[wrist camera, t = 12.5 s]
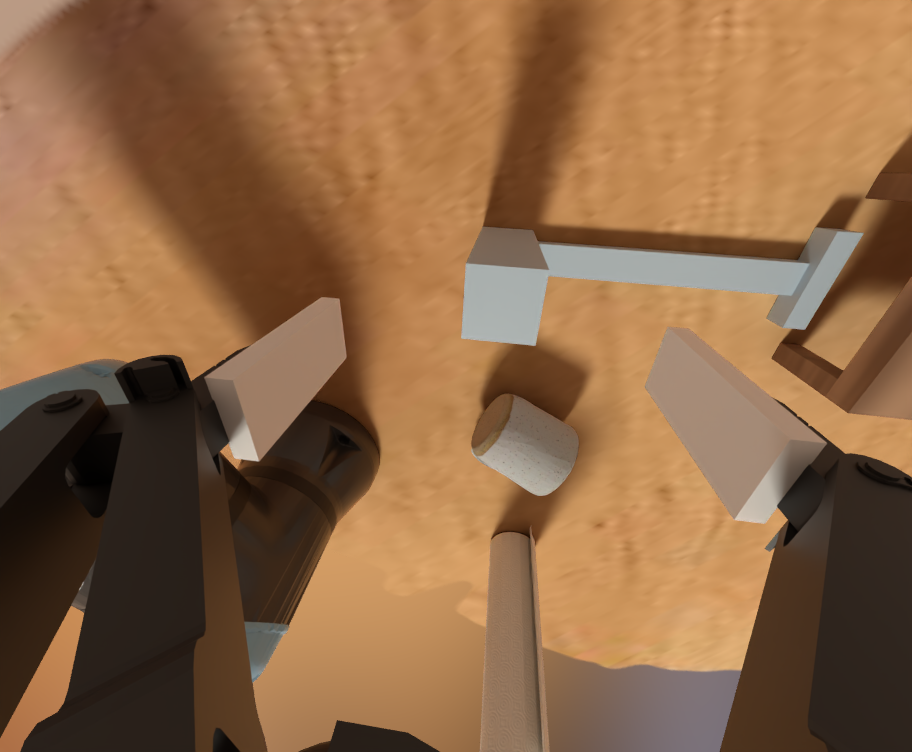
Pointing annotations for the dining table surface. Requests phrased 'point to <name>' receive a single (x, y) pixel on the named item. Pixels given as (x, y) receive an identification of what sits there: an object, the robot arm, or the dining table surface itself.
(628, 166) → the dining table surface
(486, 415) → the ceramic mug
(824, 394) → the walnut table
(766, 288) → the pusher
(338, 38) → the dining table surface
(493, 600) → the paper towel roll
